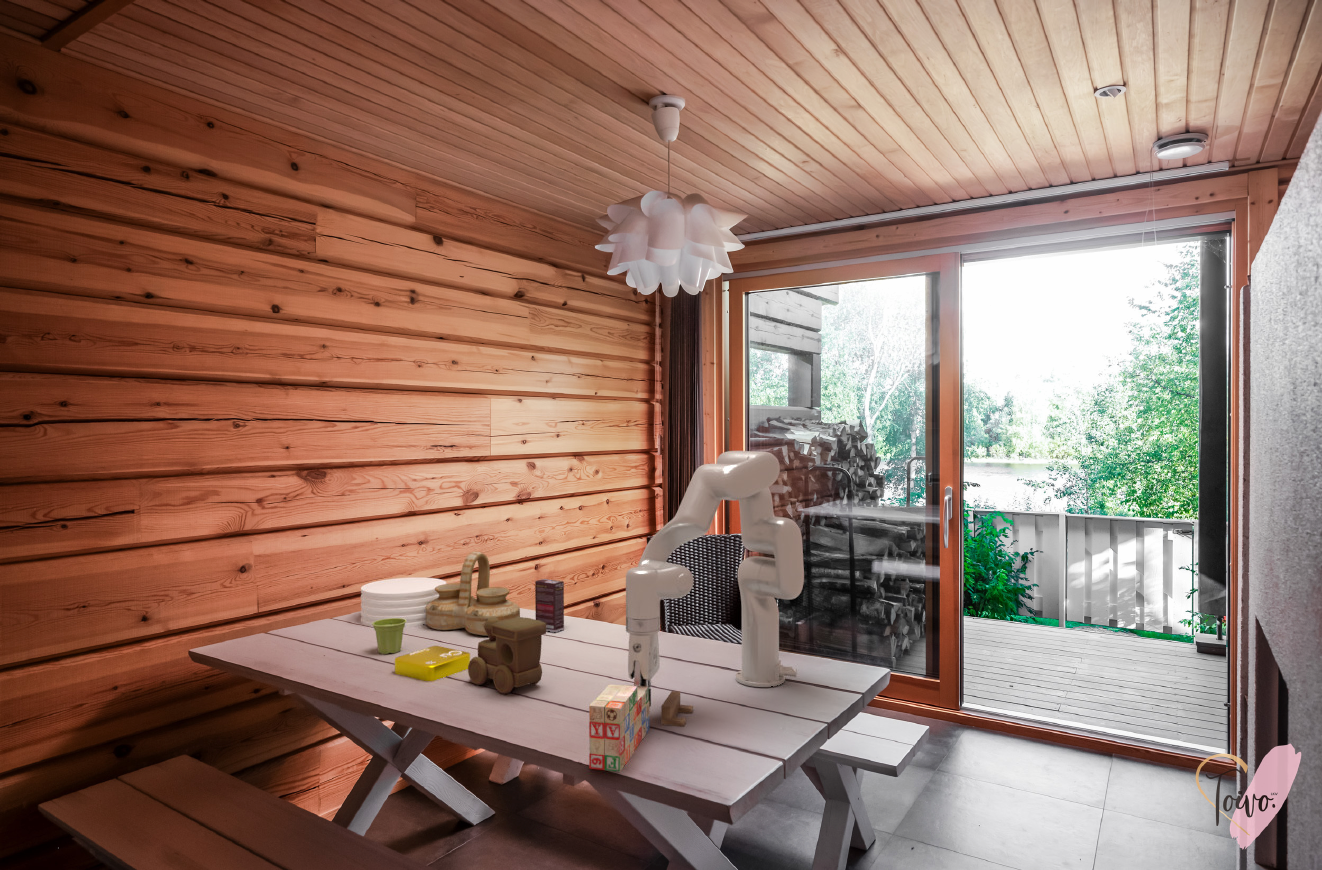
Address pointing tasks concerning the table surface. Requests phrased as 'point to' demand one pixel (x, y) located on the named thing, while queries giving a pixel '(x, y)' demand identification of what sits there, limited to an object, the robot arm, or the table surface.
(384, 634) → the plant pot
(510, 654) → the wooden toy train
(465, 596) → the ceramic vessel
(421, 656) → the element tile
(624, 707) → the stack of blocks
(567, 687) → the table surface
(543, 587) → the supplement box
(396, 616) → the plate stack
